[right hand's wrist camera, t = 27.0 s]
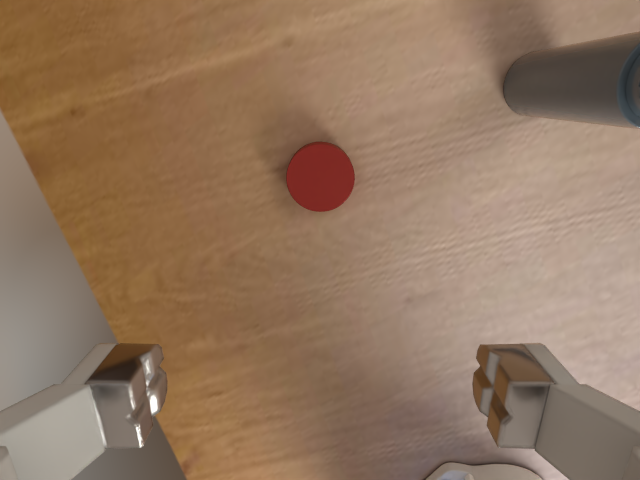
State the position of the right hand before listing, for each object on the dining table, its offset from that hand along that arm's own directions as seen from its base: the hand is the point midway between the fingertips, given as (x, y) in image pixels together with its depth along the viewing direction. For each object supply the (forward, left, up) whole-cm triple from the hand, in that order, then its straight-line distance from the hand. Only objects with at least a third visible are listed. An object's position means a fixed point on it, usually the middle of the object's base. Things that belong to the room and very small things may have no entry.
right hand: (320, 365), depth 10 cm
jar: (+17, -6, -26) cm, 32 cm away
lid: (0, 0, -25) cm, 25 cm away
